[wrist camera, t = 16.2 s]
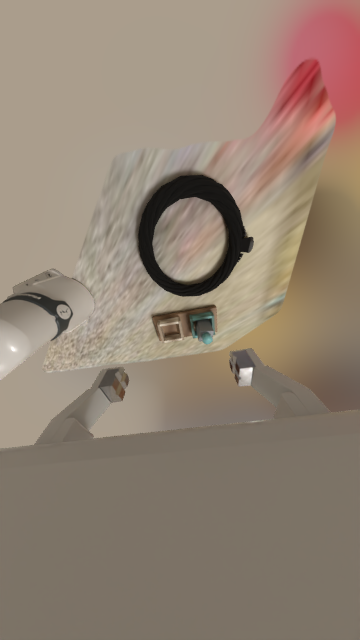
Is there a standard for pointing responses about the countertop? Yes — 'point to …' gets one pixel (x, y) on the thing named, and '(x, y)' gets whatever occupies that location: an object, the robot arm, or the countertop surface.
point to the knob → (204, 331)
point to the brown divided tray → (183, 323)
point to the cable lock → (206, 191)
